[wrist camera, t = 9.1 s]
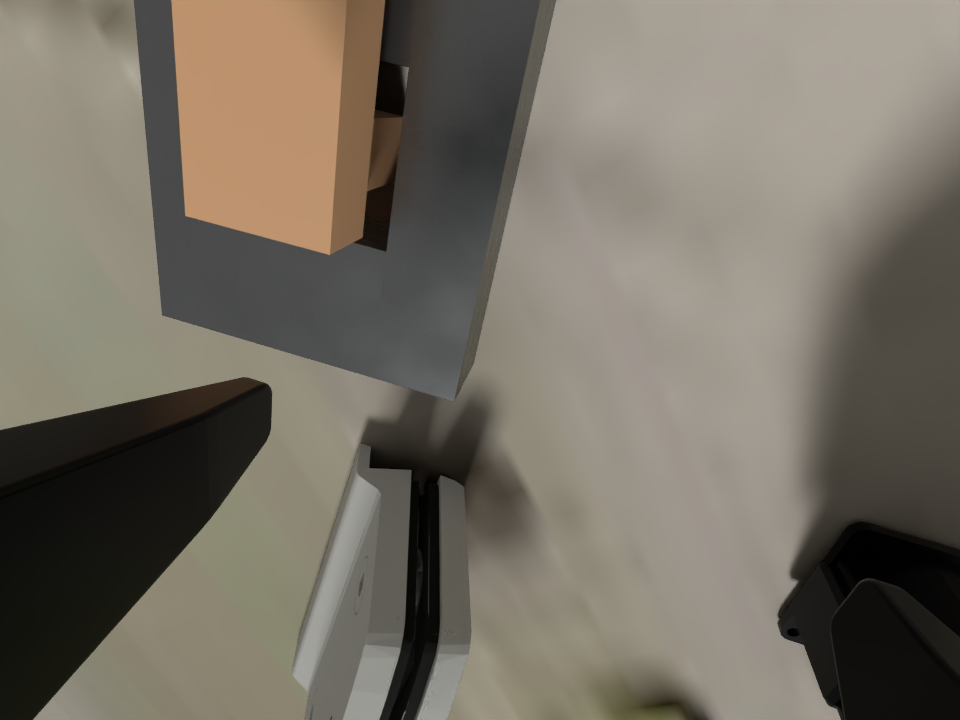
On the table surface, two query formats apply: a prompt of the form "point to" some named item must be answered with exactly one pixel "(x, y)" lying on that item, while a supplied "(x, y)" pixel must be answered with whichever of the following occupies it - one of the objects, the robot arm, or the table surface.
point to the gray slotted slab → (384, 247)
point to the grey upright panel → (388, 602)
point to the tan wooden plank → (283, 116)
